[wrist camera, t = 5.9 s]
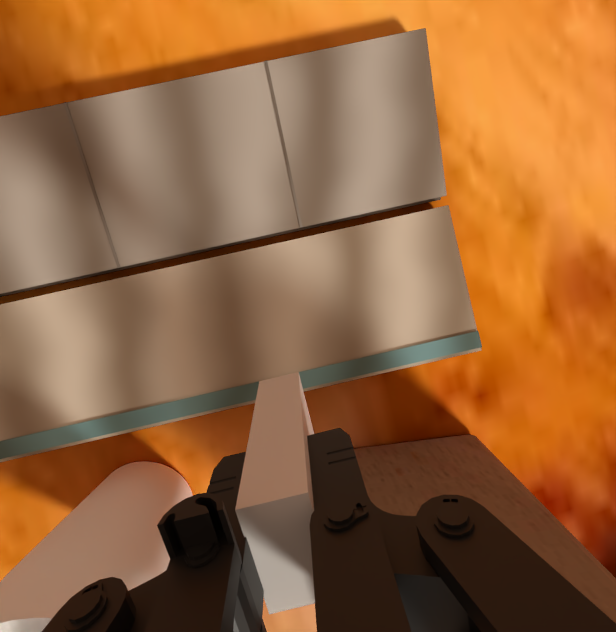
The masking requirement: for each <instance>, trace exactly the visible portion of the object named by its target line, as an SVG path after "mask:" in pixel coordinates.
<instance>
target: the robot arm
mask: <svg viewBox="0 0 616 632" xmlns="http://www.w3.org/2000/svg"><path fill="white" fill-rule="evenodd" d="M157 527H158V529H159V532H160V534H161V537H162V540H163V542H164V545H165V547H166V550H167V552H168V555H169V557H170V561H169V564H168V567H167V570H166V571H164V572H163V573H161V574H160V575H158V576H156V577H154V578H152V579H151V580H149V581H147V582H145V583H143V584H141V585H139V586H137V587H135V588H133V589H131V590H129V591H128V589H127V587H126V585H125V584H124V582H123V580H122V579H119V578H115V577H109V578H104V579H100V580H98V581H96V582H94V583H92V584H90V585H88V586H86V587H84V588H83V589H82V590H80V591H79V592H78V593H76V594H75V595H74V596H72V597H71V598H70V599H69V600H68V601H67V602H66V603H65V604H64V605H63V606H62V608H61V609H60V610H59V611H58V612H57V613H56V614H55V616H54V617H53V618H52V619H51V621H50V622H49V623H48V624H47V626H46V627H45V628H44V629H43V631H42V632H267V631H266V628H265V625H264V622H263V619H262V612H263V597H264V599H265V602H266V605H267V608H268V611H269V614H273V613H277V612H281V611H285V610H289V609H293V608H297V607H302V606H306V605H310V604H314V603H315V609H316V623H317V632H616V623H615V622H614V621H613V620H611V619H610V618H609V617H608V616H607V615H606V614H605V613H604V612H602V611H601V610H600V609H599V608H598V607H597V606H596V605H595V604H593V603H592V602H591V601H590V600H589V599H588V598H587V597H585V596H584V595H583V594H582V593H581V592H580V591H579V590H578V589H576V588H575V587H574V586H573V585H572V584H571V583H570V582H569V581H567V580H566V579H565V578H564V577H563V576H562V575H561V574H559V573H558V572H557V571H556V570H555V569H554V568H553V567H552V566H550V565H549V564H548V563H547V562H546V561H545V560H544V559H543V558H541V557H540V556H539V555H538V554H537V553H536V552H535V551H533V550H532V549H531V548H530V547H529V546H528V545H527V544H526V543H524V542H523V541H522V540H521V539H520V538H519V537H518V536H517V535H515V534H514V533H513V532H512V531H511V530H510V529H509V528H507V527H506V526H505V525H504V524H503V523H502V522H501V521H500V520H498V519H497V518H496V517H495V516H494V515H493V514H492V513H491V512H489V511H488V510H487V509H486V508H485V507H484V506H482V505H481V504H479V503H478V502H476V501H474V500H473V499H471V498H467V497H464V496H460V495H440V496H437V497H433V498H431V499H429V500H428V501H426V502H425V503H424V504H422V505H421V507H420V509H419V511H418V512H417V515H416V516H404V515H395V514H391V513H388V512H385V511H383V510H381V509H379V508H378V507H376V506H375V505H374V504H373V503H372V502H371V500H370V498H369V496H368V494H367V491H366V488H365V484H364V481H363V478H362V475H361V471H360V468H359V465H358V462H357V458H356V455H355V452H354V449H353V445H352V442H351V439H350V436H349V435H348V434H347V433H346V432H344V431H343V430H342V429H341V428H337V429H333V430H329V431H325V432H321V433H316V434H314V431H313V427H312V423H311V419H310V415H309V411H308V407H307V403H306V399H305V395H304V392H303V388H302V384H301V380H300V376H299V372H296V373H292V374H287V375H283V376H279V377H275V378H271V379H267V380H263V381H259V386H258V391H257V397H256V402H255V407H254V412H253V418H252V423H251V428H250V434H249V439H248V444H247V450H246V452H243V453H239V454H235V455H230V456H226V457H224V458H223V459H222V460H221V461H220V463H219V464H218V465H217V466H216V467H215V469H214V470H213V473H212V477H211V480H210V485H209V486H208V490H207V493H202V494H196V495H194V496H191V497H188V498H186V499H184V500H182V501H181V502H179V503H177V504H176V505H174V506H173V507H172V508H171V509H170V510H169V511H168V512H166V513H165V514H164V515H163V517H162V518H161V520H160V521H159V523H158V525H157Z"/></svg>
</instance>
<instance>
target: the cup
mask: <svg viewBox="0 0 616 632" xmlns="http://www.w3.org/2000/svg"><path fill="white" fill-rule="evenodd" d="M191 496H192V492H191V489H190V487H189V485H188V483H187V482H186V481H185V479H184V478H183V477H182V476H181V475H180V474H179V473H178V472H176V471H175V470H173V469H172V468H170V467H168V466H166V465H163V464H160V463H156V462H149V461H141V462H133V463H129V464H126V465H124V466H121V467H120V468H118V469H116V470H115V471H113V472H112V473H111V474H110V475H109V476H108V477H107V478H106V479H105V480H104V481H103V482H102V483H101V484H100V485H98V486H97V487H96V488H95V489H94V490H93V491H92V492H91V493H90V494H89V495H88V496H87V497H86V498H85V499H84V500H83V501H82V502H81V503H80V504H79V505H78V506H77V507H76V508H75V509H74V510H73V511H72V512H71V513H70V514H69V515H68V516H67V517H65V518H64V519H63V520H62V521H61V522H60V523H59V524H58V525H57V526H56V527H55V528H54V529H53V530H52V531H51V532H50V533H49V534H48V535H47V536H46V537H45V538H44V539H43V540H42V541H41V542H40V543H39V544H38V545H37V546H36V547H35V548H34V549H33V550H31V551H30V552H29V553H28V554H27V555H26V556H25V557H24V558H23V559H22V560H21V561H20V562H19V563H18V564H17V565H16V566H15V567H14V568H13V569H12V570H11V571H10V572H9V573H8V574H7V575H6V576H5V577H4V578H3V579H2V581H1V582H0V632H42V631H43V629H44V628H45V627H46V626H47V624H48V623H49V622H50V621H51V619H52V618H53V617H54V616H55V614H56V613H57V612H58V611H59V610H60V609H61V608H62V606H63V605H64V604H65V603H66V602H67V601H68V600H69V599H70V598H71V597H72V596H74V595H75V594H76V593H78V592H79V591H80V590H82V589H83V588H84V587H86V586H88V585H90V584H92V583H94V582H96V581H98V580H100V579H104V578H109V577H115V578H119V579H122V580H123V582H124V584H125V585H126V587H127V589H128V591H129V590H131V589H133V588H135V587H137V586H139V585H141V584H143V583H145V582H147V581H149V580H151V579H152V578H154V577H156V576H158V575H160V574H161V573H163V572H164V571H166V570H167V567H168V564H169V561H170V557H169V555H168V552H167V550H166V547H165V545H164V542H163V540H162V537H161V534H160V532H159V529H158V527H157V525H158V523H159V521H160V520H161V518H162V517H163V515H164V514H165V513H166V512H168V511H169V510H170V509H171V508H172V507H173V506H174V505H176V504H177V503H179V502H181V501H182V500H184V499H186V498H188V497H191Z"/></svg>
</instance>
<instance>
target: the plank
mask: <svg viewBox="0 0 616 632" xmlns="http://www.w3.org/2000/svg"><path fill="white" fill-rule="evenodd" d="M481 347H482V346H481V341H480V337H479V332H478V331H477V328H476V324H475V319H474V315H473V310H472V306H471V302H470V297H469V293H468V289H467V284H466V280H465V276H464V271H463V267H462V263H461V258H460V254H459V249H458V245H457V241H456V236H455V232H454V228H453V223H452V219H451V215H450V210H449V206H448V205H447V206H443V207H438V208H434V209H429V210H425V211H420V212H416V213H411V214H407V215H402V216H398V217H393V218H389V219H384V220H380V221H375V222H371V223H366V224H362V225H357V226H353V227H348V228H343V229H339V230H334V231H330V232H325V233H321V234H316V235H312V236H307V237H303V238H298V239H294V240H289V241H285V242H280V243H276V244H271V245H267V246H262V247H258V248H253V249H249V250H244V251H240V252H235V253H231V254H226V255H221V256H217V257H212V258H208V259H203V260H199V261H194V262H190V263H185V264H181V265H176V266H172V267H167V268H163V269H158V270H154V271H149V272H145V273H140V274H136V275H131V276H127V277H122V278H118V279H113V280H109V281H104V282H100V283H95V284H90V285H86V286H81V287H77V288H72V289H68V290H63V291H59V292H54V293H50V294H45V295H41V296H36V297H32V298H27V299H23V300H18V301H14V302H9V303H5V304H0V462H4V461H8V460H12V459H17V458H21V457H25V456H30V455H34V454H38V453H43V452H47V451H51V450H55V449H60V448H64V447H68V446H73V445H77V444H81V443H86V442H90V441H94V440H98V439H103V438H107V437H111V436H116V435H120V434H124V433H128V432H133V431H137V430H141V429H146V428H150V427H154V426H159V425H163V424H167V423H171V422H176V421H180V420H184V419H189V418H193V417H197V416H201V415H206V414H210V413H214V412H219V411H223V410H227V409H232V408H236V407H240V406H244V405H249V404H253V403H255V402H256V397H257V391H258V386H259V381H263V380H267V379H271V378H275V377H279V376H283V375H287V374H292V373H296V372H299V376H300V380H301V384H302V388H303V392H305V391H309V390H313V389H317V388H322V387H326V386H330V385H335V384H339V383H343V382H347V381H352V380H356V379H360V378H365V377H369V376H373V375H378V374H382V373H386V372H390V371H395V370H399V369H403V368H408V367H412V366H416V365H420V364H425V363H429V362H433V361H438V360H442V359H446V358H451V357H455V356H459V355H463V354H468V353H472V352H476V351H481Z"/></svg>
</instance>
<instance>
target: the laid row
mask: <svg viewBox="0 0 616 632" xmlns="http://www.w3.org/2000/svg"><path fill="white" fill-rule="evenodd" d="M442 196H446V187H445V179H444V171H443V163H442V155H441V147H440V139H439V131H438V123H437V115H436V107H435V99H434V91H433V83H432V75H431V68H430V60H429V52H428V44H427V36H426V28H424V29H419V30H414V31H409V32H404V33H400V34H395V35H390V36H385V37H380V38H376V39H371V40H366V41H361V42H356V43H351V44H347V45H342V46H337V47H332V48H327V49H323V50H318V51H313V52H308V53H303V54H298V55H294V56H289V57H284V58H279V59H274V60H270V61H264V62H260V63H255V64H250V65H245V66H241V67H236V68H231V69H226V70H221V71H217V72H212V73H207V74H202V75H197V76H193V77H188V78H183V79H178V80H173V81H168V82H164V83H159V84H154V85H149V86H144V87H140V88H135V89H130V90H125V91H120V92H115V93H111V94H106V95H101V96H96V97H91V98H87V99H82V100H77V101H72V102H65V103H62V104H58V105H53V106H48V107H43V108H38V109H34V110H29V111H24V112H19V113H14V114H10V115H5V116H0V297H1V296H6V295H10V294H15V293H19V292H24V291H28V290H33V289H37V288H42V287H47V286H51V285H56V284H60V283H65V282H69V281H74V280H78V279H83V278H87V277H92V276H96V275H101V274H105V273H110V272H114V271H119V270H124V269H128V268H133V267H137V266H142V265H146V264H151V263H155V262H160V261H164V260H169V259H173V258H178V257H182V256H187V255H191V254H196V253H201V252H205V251H210V250H214V249H219V248H223V247H228V246H232V245H237V244H241V243H246V242H250V241H255V240H259V239H264V238H268V237H273V236H278V235H282V234H287V233H291V232H296V231H300V230H305V229H309V228H314V227H318V226H323V225H327V224H332V223H336V222H341V221H345V220H350V219H355V218H359V217H364V216H368V215H373V214H377V213H382V212H386V211H391V210H395V209H400V208H404V207H409V206H413V205H418V204H422V203H427V202H432V201H436V200H440V199H441V198H440V197H442Z"/></svg>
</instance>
